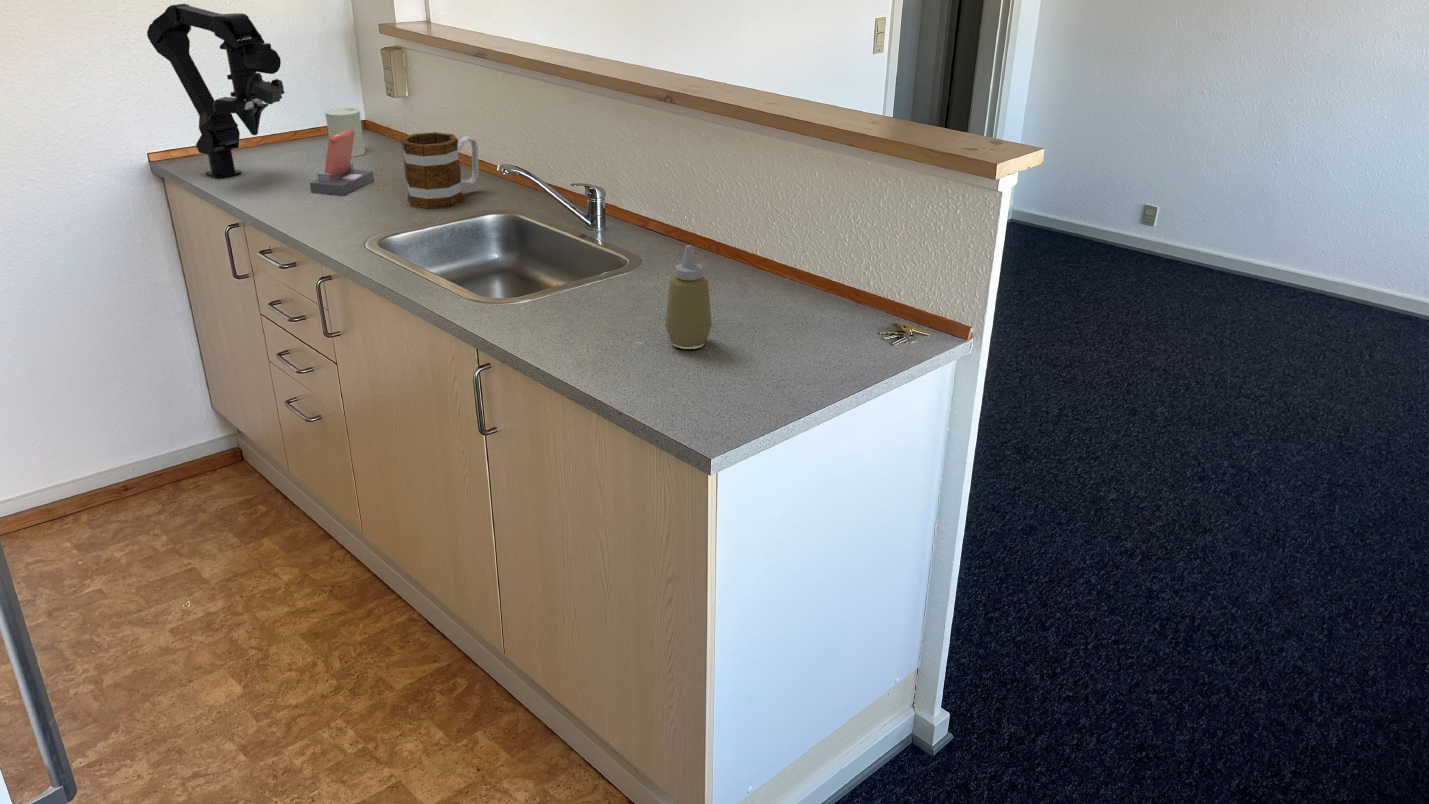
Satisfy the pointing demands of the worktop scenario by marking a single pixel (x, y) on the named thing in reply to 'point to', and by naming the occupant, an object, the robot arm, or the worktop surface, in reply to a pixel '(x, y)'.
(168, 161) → the worktop surface
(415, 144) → the mug
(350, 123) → the can
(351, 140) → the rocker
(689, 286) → the squeeze bottle
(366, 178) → the grey holder stand
